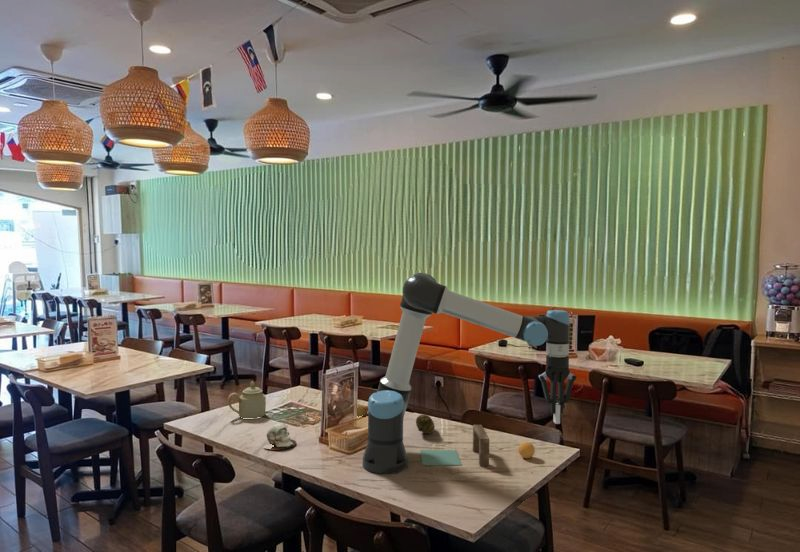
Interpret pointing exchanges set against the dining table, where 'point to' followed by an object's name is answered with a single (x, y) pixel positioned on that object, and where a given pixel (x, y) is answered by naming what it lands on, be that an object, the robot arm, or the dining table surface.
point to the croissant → (361, 410)
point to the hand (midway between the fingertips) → (556, 422)
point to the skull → (279, 437)
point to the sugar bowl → (250, 402)
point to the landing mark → (440, 457)
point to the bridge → (481, 444)
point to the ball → (526, 449)
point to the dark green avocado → (425, 424)
